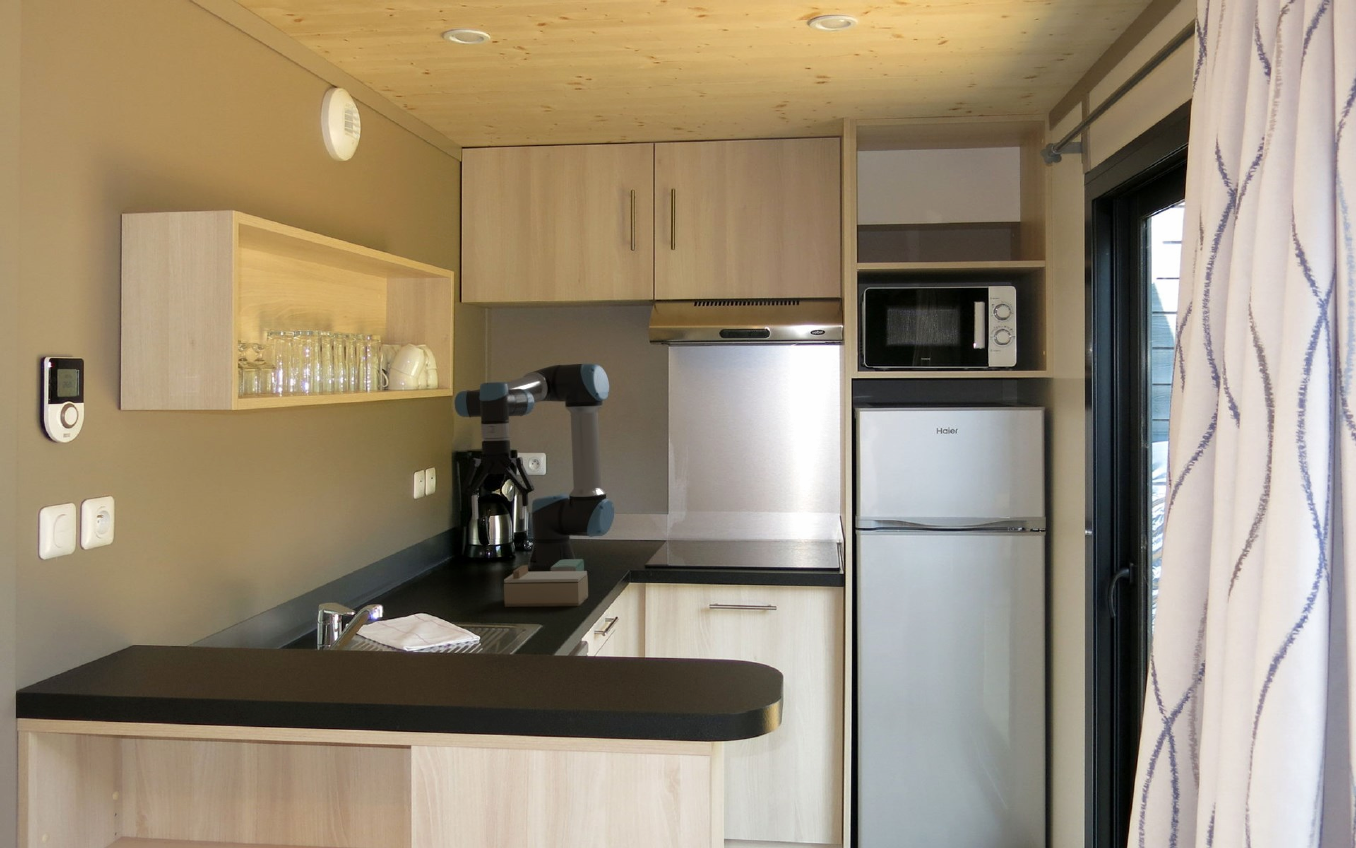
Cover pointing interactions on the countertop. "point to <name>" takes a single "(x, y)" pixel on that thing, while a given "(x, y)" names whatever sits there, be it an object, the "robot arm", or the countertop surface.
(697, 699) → the countertop surface
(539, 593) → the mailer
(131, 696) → the countertop surface
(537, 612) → the countertop surface
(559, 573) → the lid
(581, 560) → the box
